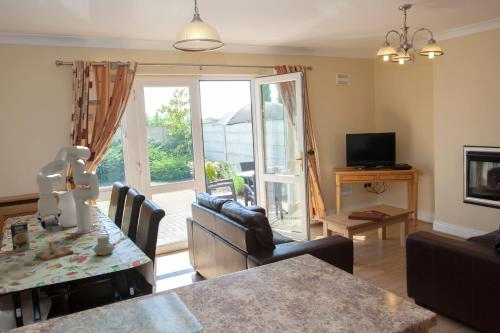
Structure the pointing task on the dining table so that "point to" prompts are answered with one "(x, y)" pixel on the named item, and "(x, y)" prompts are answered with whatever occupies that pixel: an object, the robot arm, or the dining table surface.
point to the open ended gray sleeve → (52, 225)
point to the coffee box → (20, 236)
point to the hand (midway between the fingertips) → (50, 226)
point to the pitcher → (67, 209)
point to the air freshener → (103, 246)
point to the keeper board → (57, 254)
